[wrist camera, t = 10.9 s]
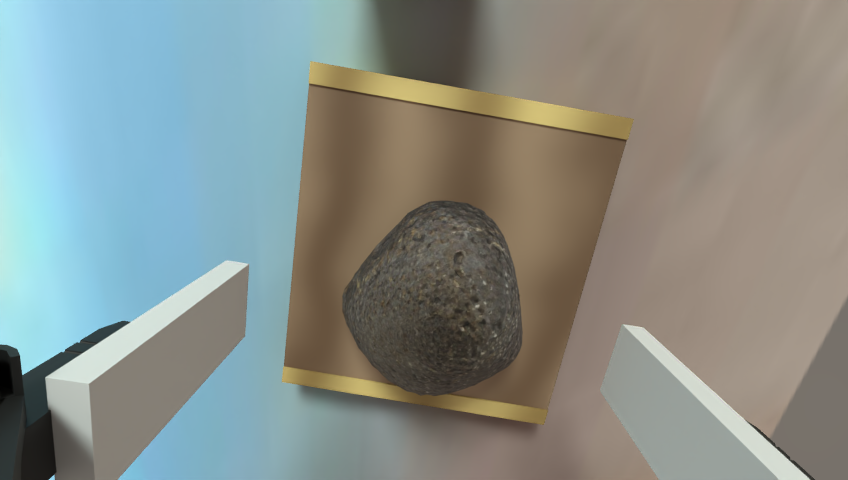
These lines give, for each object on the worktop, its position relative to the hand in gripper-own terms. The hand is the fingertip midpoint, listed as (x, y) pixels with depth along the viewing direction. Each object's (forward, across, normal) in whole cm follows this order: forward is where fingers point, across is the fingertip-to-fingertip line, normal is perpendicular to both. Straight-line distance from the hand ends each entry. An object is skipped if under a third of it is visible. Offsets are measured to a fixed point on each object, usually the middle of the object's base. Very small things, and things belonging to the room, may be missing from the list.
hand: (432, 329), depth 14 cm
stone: (+8, 0, -1) cm, 9 cm away
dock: (+11, +1, 0) cm, 11 cm away
